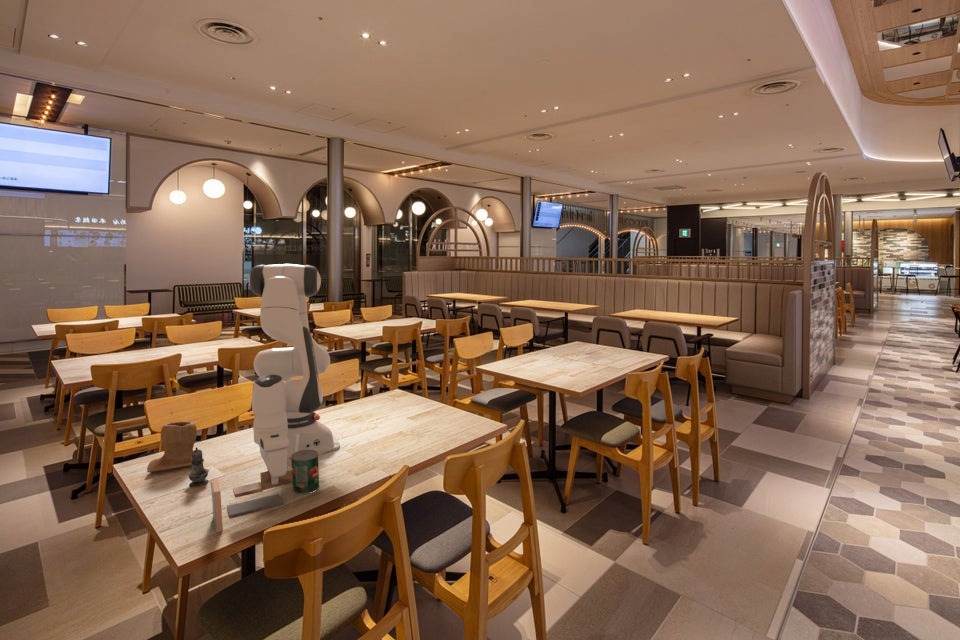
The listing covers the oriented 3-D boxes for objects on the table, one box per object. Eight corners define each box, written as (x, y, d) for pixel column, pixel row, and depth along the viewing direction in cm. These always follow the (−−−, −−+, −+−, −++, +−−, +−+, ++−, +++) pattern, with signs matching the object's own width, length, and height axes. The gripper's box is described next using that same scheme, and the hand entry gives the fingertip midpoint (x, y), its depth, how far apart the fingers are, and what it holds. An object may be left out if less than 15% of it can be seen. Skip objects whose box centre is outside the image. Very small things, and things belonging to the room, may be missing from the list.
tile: (219, 514, 136) (217, 477, 134) (222, 530, 128) (220, 490, 127) (213, 516, 135) (210, 478, 133) (215, 532, 127) (213, 492, 126)
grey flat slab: (279, 495, 147) (279, 493, 147) (283, 504, 142) (283, 502, 142) (227, 507, 139) (227, 505, 139) (229, 517, 134) (229, 515, 134)
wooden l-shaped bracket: (290, 478, 143) (289, 465, 142) (293, 484, 139) (292, 471, 139) (233, 491, 135) (232, 477, 134) (235, 497, 131) (234, 483, 131)
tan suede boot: (201, 455, 176) (198, 415, 174) (200, 467, 165) (198, 425, 163) (150, 463, 168) (147, 421, 166) (147, 477, 158) (143, 433, 156)
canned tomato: (321, 490, 150) (320, 456, 149) (294, 496, 146) (293, 461, 145) (316, 480, 157) (315, 447, 156) (290, 485, 153) (289, 452, 152)
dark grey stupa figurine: (190, 480, 156) (187, 444, 154) (210, 478, 158) (208, 442, 156) (186, 488, 150) (183, 451, 149) (207, 486, 152) (205, 449, 151)
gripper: (253, 424, 143) (255, 469, 145) (265, 447, 126) (267, 497, 128) (275, 420, 147) (277, 464, 148) (290, 442, 130) (292, 491, 131)
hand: (273, 480), depth 138 cm, fingers closed on wooden l-shaped bracket, 3 cm apart
